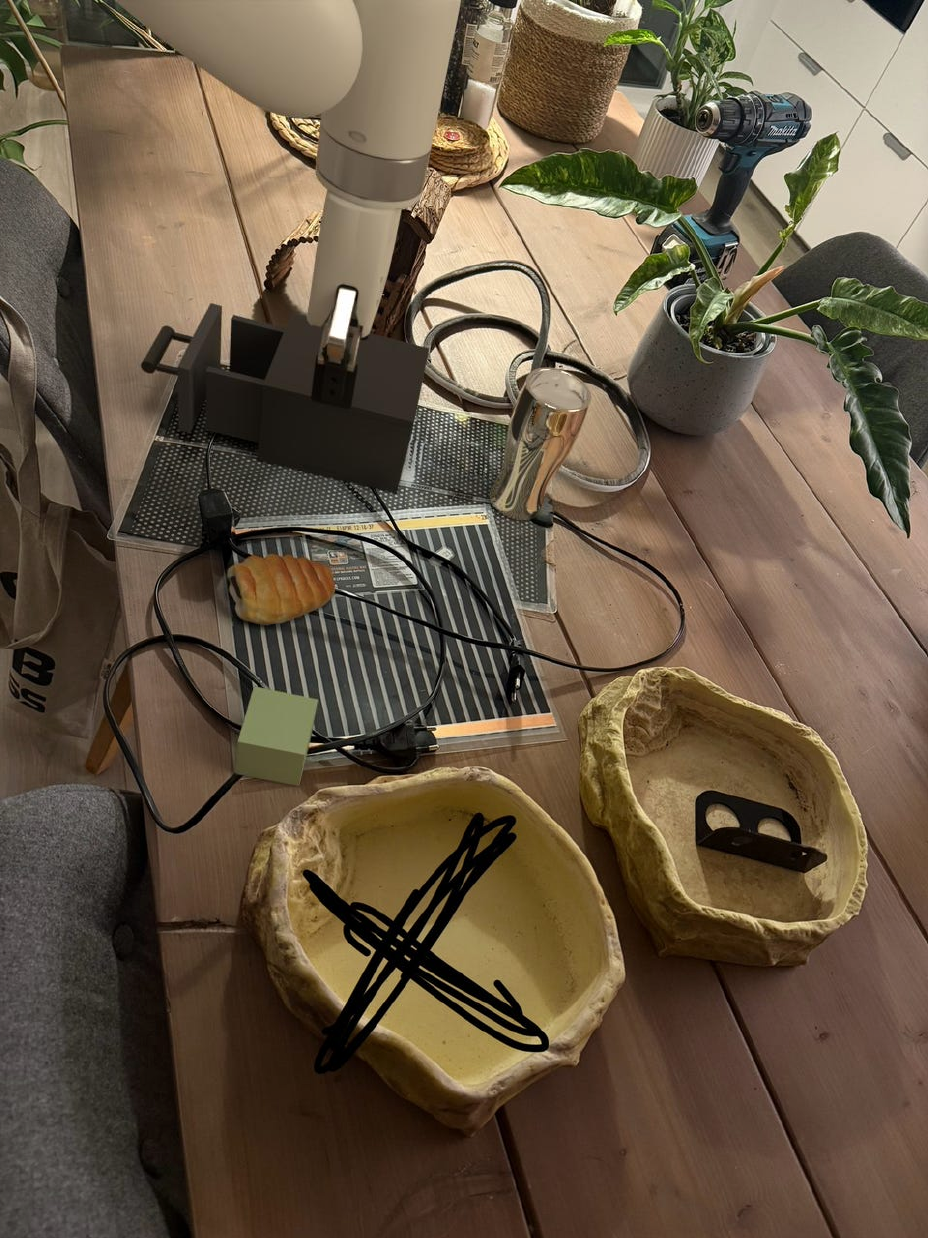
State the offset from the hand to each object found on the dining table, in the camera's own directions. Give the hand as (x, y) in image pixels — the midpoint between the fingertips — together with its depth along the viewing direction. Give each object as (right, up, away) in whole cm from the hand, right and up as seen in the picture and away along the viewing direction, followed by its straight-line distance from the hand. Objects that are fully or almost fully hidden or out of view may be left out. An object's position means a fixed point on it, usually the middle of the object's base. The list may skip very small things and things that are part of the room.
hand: (340, 367), depth 73 cm
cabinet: (-3, -1, +22) cm, 22 cm away
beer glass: (+16, -8, +22) cm, 29 cm away
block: (-5, -32, -3) cm, 32 cm away
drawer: (-14, +1, +20) cm, 24 cm away
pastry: (-7, -19, +7) cm, 21 cm away
